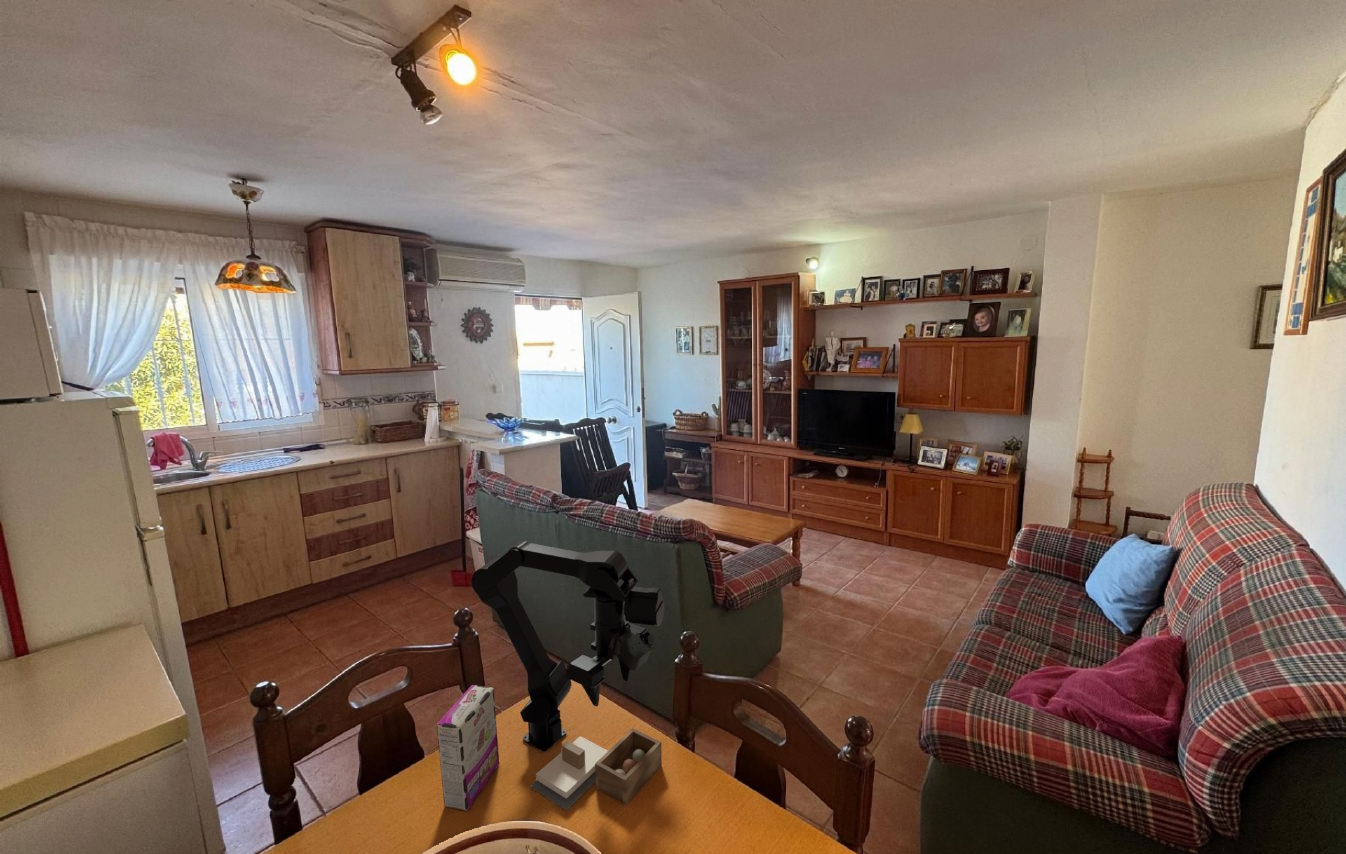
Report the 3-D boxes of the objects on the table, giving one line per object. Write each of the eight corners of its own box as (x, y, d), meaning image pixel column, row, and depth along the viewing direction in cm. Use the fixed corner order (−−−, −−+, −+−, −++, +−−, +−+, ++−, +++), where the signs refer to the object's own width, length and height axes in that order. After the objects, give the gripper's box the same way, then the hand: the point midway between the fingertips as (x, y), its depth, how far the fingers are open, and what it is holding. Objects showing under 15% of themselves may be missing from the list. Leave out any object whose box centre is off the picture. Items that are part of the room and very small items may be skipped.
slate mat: (530, 787, 99) (530, 785, 98) (580, 744, 109) (580, 742, 109) (566, 810, 94) (566, 808, 94) (614, 763, 104) (614, 760, 104)
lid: (566, 803, 94) (565, 777, 94) (536, 784, 99) (535, 759, 98) (609, 761, 104) (609, 737, 103) (580, 745, 108) (579, 722, 107)
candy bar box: (476, 760, 105) (471, 683, 103) (500, 764, 104) (495, 686, 102) (441, 808, 94) (435, 723, 92) (467, 813, 93) (461, 726, 91)
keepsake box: (625, 805, 95) (625, 780, 94) (595, 788, 98) (595, 763, 98) (661, 765, 104) (661, 742, 103) (632, 750, 108) (632, 728, 107)
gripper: (610, 654, 92) (612, 737, 94) (671, 609, 107) (671, 682, 109) (563, 635, 98) (566, 713, 100) (627, 595, 113) (628, 664, 115)
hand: (611, 692), depth 106 cm, fingers open, 9 cm apart
